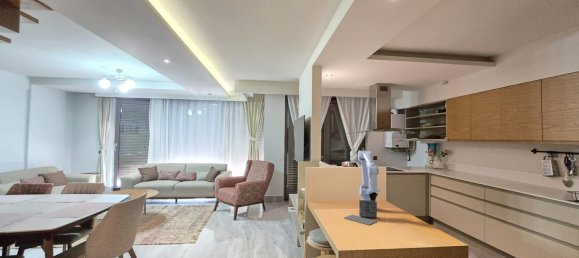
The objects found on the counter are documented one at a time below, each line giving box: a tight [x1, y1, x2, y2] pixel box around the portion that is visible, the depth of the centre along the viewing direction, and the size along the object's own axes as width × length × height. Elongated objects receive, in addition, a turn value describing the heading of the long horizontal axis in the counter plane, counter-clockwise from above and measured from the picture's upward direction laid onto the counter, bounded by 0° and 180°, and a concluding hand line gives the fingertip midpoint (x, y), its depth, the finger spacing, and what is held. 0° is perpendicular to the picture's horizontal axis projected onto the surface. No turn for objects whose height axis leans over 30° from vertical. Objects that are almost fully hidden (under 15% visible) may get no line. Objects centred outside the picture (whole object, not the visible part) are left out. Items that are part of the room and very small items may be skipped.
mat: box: [343, 214, 378, 226], centre depth 163 cm, size 10×18×1 cm, turn 43°
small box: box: [358, 199, 378, 219], centre depth 170 cm, size 11×6×10 cm, turn 85°
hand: (372, 203), depth 174 cm, fingers closed
